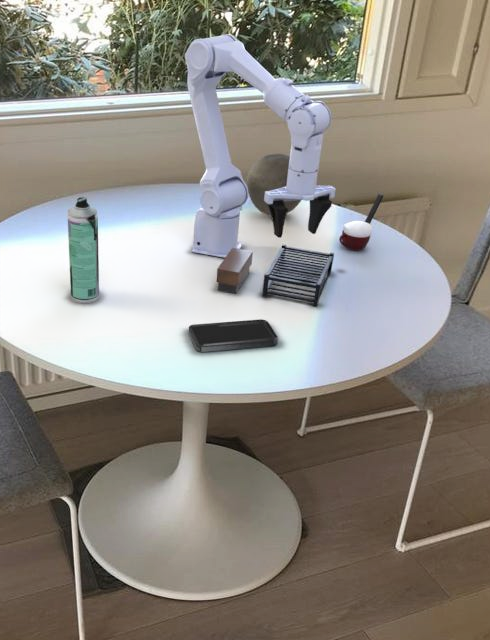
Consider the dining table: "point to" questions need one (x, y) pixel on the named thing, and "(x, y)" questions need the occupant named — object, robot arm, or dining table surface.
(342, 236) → the cocoa
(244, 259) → the shoe brush
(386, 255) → the dining table surface
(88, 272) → the spray can
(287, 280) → the shoe rack
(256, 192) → the cantaloupe
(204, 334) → the phone
